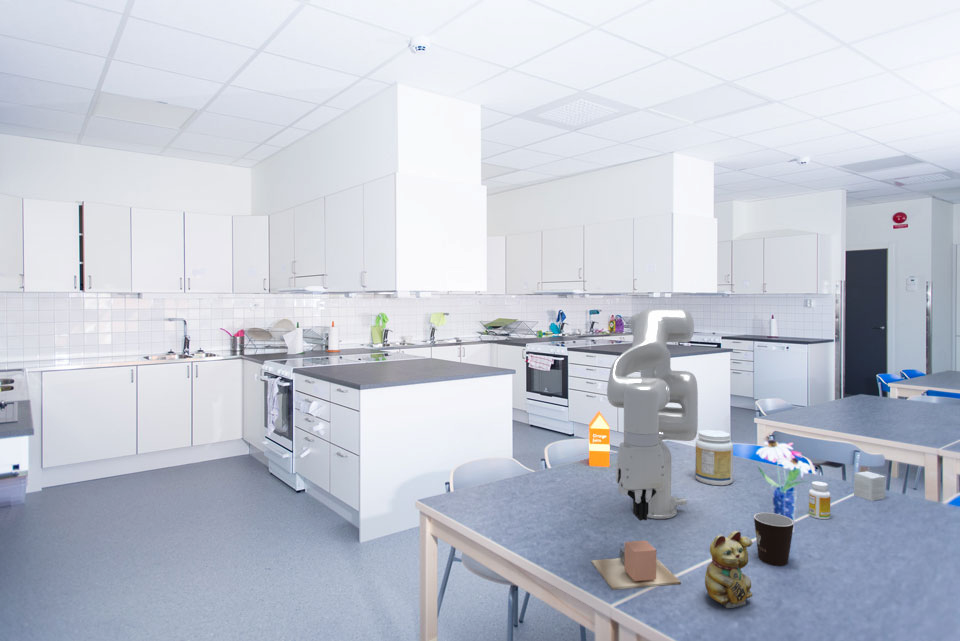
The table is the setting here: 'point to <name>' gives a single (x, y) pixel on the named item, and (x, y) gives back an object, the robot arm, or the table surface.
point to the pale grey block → (869, 485)
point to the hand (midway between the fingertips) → (640, 517)
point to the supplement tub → (714, 457)
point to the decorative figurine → (729, 570)
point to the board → (620, 579)
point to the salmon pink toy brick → (640, 560)
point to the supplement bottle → (819, 500)
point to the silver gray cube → (622, 555)
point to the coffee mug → (773, 538)
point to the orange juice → (599, 441)
